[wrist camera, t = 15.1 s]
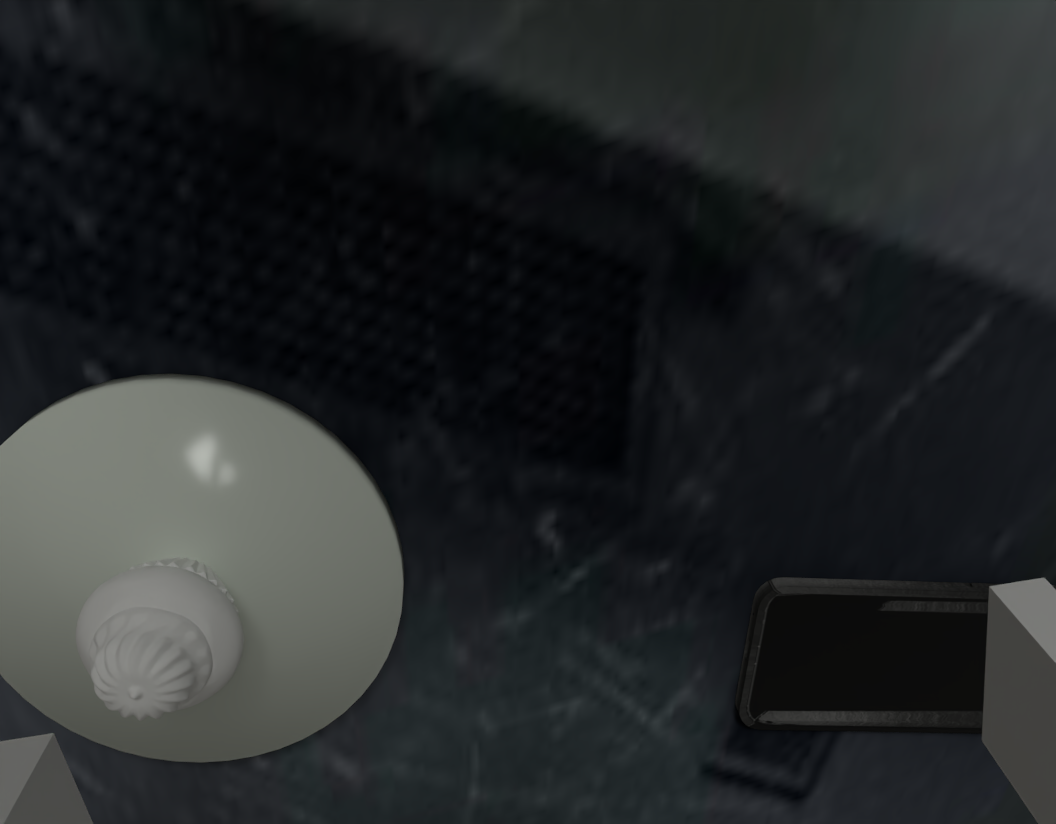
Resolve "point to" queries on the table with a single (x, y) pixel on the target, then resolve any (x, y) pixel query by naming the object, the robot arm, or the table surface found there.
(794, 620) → the phone
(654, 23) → the table surface
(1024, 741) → the robot arm
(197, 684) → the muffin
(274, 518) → the ceramic plate
